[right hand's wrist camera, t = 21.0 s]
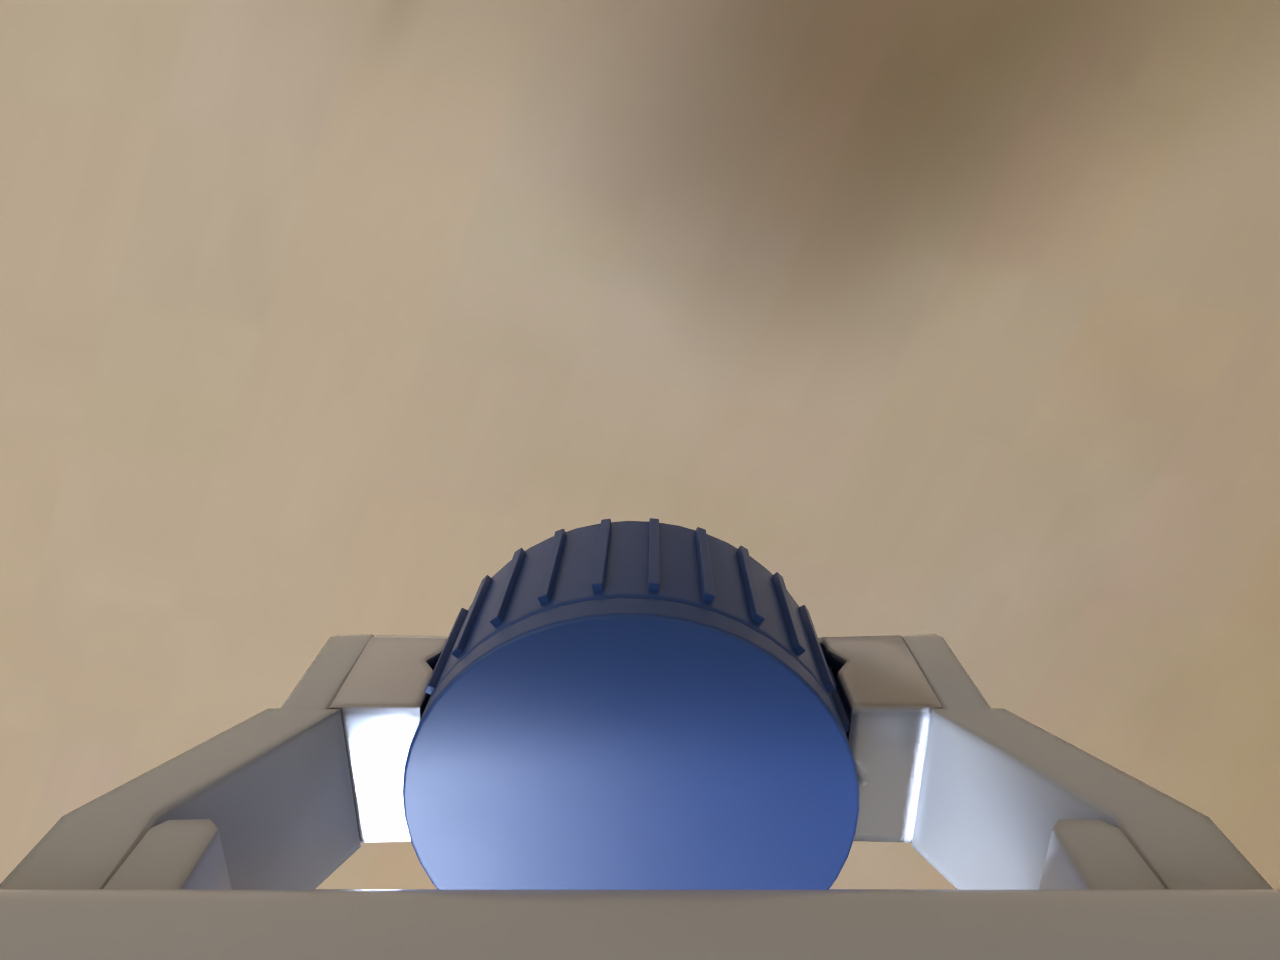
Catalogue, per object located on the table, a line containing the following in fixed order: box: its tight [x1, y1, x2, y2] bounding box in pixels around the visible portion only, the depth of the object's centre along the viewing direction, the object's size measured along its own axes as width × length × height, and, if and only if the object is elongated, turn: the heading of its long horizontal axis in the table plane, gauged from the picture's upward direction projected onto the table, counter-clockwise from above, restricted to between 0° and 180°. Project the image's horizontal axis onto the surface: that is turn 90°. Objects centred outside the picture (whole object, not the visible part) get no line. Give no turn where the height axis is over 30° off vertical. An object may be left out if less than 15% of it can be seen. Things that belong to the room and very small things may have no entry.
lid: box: [402, 518, 859, 890], centre depth 9 cm, size 5×5×2 cm
